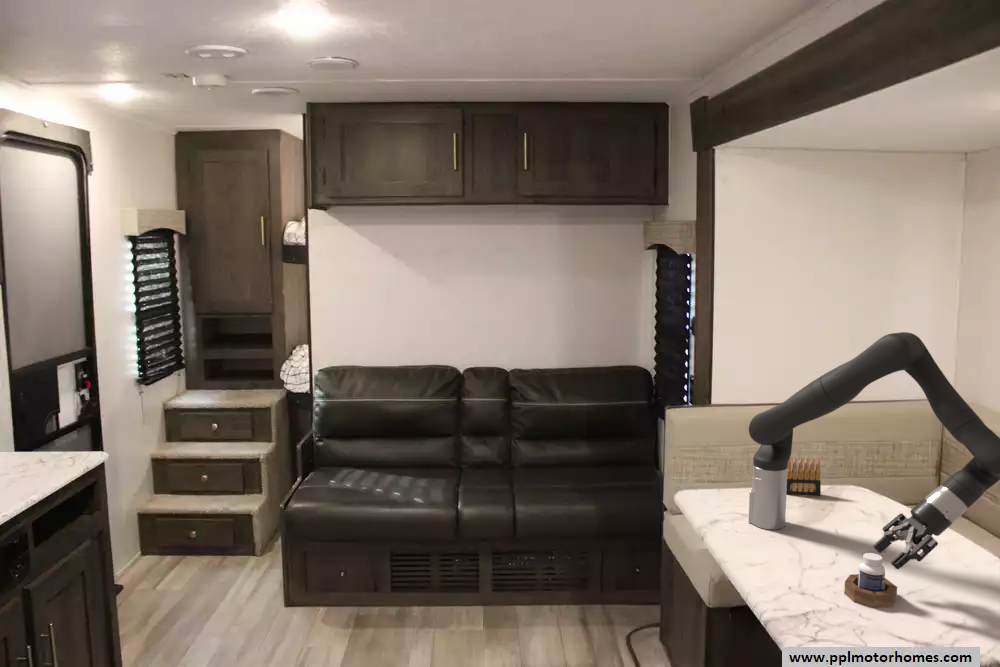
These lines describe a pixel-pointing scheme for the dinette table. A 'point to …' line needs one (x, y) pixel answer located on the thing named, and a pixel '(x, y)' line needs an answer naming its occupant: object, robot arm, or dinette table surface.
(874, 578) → the pill bottle
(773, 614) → the dinette table surface
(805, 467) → the ammunition clip
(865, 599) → the walnut ring
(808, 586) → the dinette table surface
